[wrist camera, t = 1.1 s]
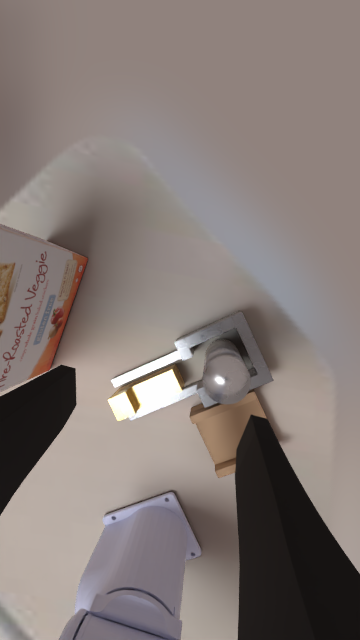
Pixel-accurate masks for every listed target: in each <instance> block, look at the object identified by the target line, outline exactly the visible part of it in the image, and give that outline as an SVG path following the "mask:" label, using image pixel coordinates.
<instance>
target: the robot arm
mask: <svg viewBox="0 0 360 640" xmlns="http://www.w3.org/2000/svg"><path fill="white" fill-rule="evenodd" d="M75 406H76V373H75V368H72V367H68V366H64V365H60V366H58V367H56V368H54V369H52V370H50V371H49V372H47V373H45V374H43V375H41V376H39V377H37V378H35V379H33V380H32V381H30V382H28V383H26V384H24V385H22V386H20V387H18V388H16V389H14V390H12V391H10V392H8V393H6V394H5V395H2V396H0V515H1V513H2V512H3V510H4V509H5V507H6V506H7V504H8V502H9V501H10V499H11V498H12V496H13V495H14V493H15V492H16V490H17V489H18V487H19V486H20V485H21V483H22V482H23V480H24V479H25V478H26V476H27V475H28V474H29V473H30V471H31V470H32V469H33V467H34V466H35V465H36V463H37V462H38V461H39V459H40V458H41V457H42V455H43V454H44V453H45V451H46V450H47V449H48V447H49V446H50V445H51V443H52V442H53V441H54V439H55V438H56V437H57V435H58V434H59V433H60V431H61V430H62V429H63V427H64V425H65V424H66V422H67V420H68V419H69V417H70V415H71V414H72V412H73V410H74V408H75ZM235 484H236V502H237V519H238V535H239V557H240V578H239V620H238V640H360V574H359V572H358V571H357V570H356V568H355V567H354V565H353V564H352V563H351V561H350V560H349V558H348V557H347V556H346V554H345V553H344V551H343V550H342V548H341V547H340V545H339V544H338V542H337V541H336V540H335V538H334V537H333V535H332V534H331V532H330V531H329V529H328V527H327V526H326V524H325V523H324V521H323V520H322V518H321V516H320V515H319V513H318V512H317V510H316V508H315V507H314V505H313V503H312V502H311V500H310V498H309V497H308V495H307V493H306V492H305V490H304V488H303V487H302V485H301V483H300V481H299V479H298V478H297V476H296V474H295V472H294V470H293V469H292V467H291V465H290V463H289V461H288V459H287V457H286V455H285V453H284V452H283V450H282V448H281V446H280V444H279V442H278V440H277V438H276V436H275V434H274V432H273V429H272V427H271V425H270V423H269V421H268V420H267V419H266V418H263V417H259V416H255V415H250V418H249V420H248V423H247V425H246V427H245V430H244V432H243V435H242V437H241V439H240V442H239V444H238V447H237V449H236V468H235ZM166 498H168V499H166ZM113 516H115V517H113ZM103 523H104V525H105V528H104V530H103V532H102V534H101V536H100V539H99V541H98V543H97V545H96V547H95V549H94V551H93V553H92V556H91V558H90V560H89V562H88V564H87V566H86V568H85V571H84V573H83V575H82V577H81V580H80V583H79V586H78V591H77V596H76V604H75V615H74V616H73V617H72V618H71V619H70V620H69V621H68V623H67V624H66V626H65V628H64V630H63V632H62V634H61V636H60V638H59V640H181V629H182V621H181V620H179V619H180V609H181V599H182V590H183V580H184V570H185V561H186V560H190V559H193V558H196V557H199V556H200V555H201V548H200V546H199V544H198V542H197V540H196V537H195V535H194V533H193V531H192V529H191V527H190V525H189V523H188V521H187V519H186V517H185V514H184V512H183V510H182V508H181V506H180V504H179V502H178V500H177V498H176V496H175V494H174V493H173V492H169V493H166V494H163V495H160V496H157V497H154V498H152V499H149V500H146V501H143V502H140V503H137V504H134V505H132V506H129V507H126V508H123V509H120V510H117V511H114V512H112V513H109V514H106V515H104V517H103ZM192 552H193V553H192Z"/></svg>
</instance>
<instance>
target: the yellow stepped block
mask: <svg viewBox="0 0 360 640" xmlns="http://www.w3.org/2000/svg"><path fill="white" fill-rule="evenodd" d="M184 384H185V383H184V381H183V379H182V377H181V374H180V372H179V370H178V368H177V366H176V364H173V365H171V366H169V367H166V368H164V369H162V370H160V371H157V372H155V373H153V374H150V375H148V376H146V377H143V378H141V379H139V380H137V381H134V382H132V383H130V384H127V385H125V386H123V387H121V388H119V389H118V390H117V391H116V392H115V393H114V394H113V395H112V396H111V397H110V398H109V399H108V401H109V403H110V405H111V407H112V409H113V412H114V414H115V416H116V418H117V420H118V421H120V420H122V419H125V418H127V417H130V416H132V415H135V414H136V413H137V411H138V410H139V409H141V408H143V407H145V406H148V405H150V404H153V403H155V402H157V401H160V400H162V399H165V398H167V397H169V396H172V395H174V394H177V393H179V392H181V391H182V390H183V387H184Z"/></svg>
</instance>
